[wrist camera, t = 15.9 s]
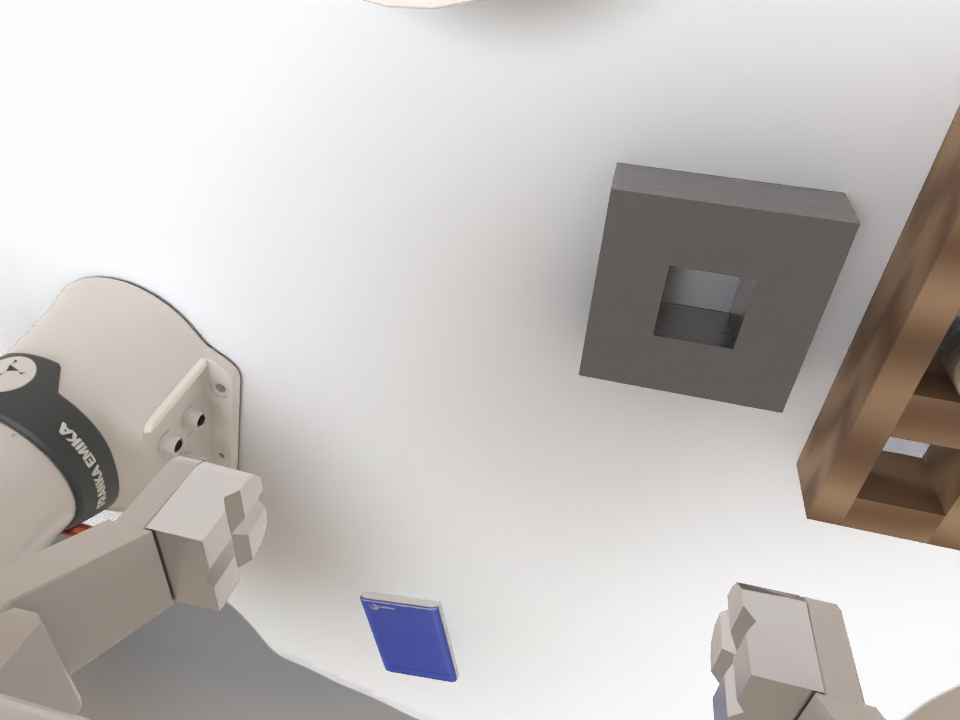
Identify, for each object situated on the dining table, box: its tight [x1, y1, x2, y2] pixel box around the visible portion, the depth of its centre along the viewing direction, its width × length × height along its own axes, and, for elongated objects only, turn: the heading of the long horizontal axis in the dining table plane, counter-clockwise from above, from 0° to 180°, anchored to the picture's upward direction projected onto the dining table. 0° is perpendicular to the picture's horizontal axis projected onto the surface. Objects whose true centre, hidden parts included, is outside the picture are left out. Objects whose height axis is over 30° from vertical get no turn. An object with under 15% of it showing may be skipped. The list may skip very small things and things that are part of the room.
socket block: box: [579, 163, 860, 413], centre depth 39 cm, size 12×12×4 cm
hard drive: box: [360, 591, 458, 682], centre depth 70 cm, size 2×8×12 cm
